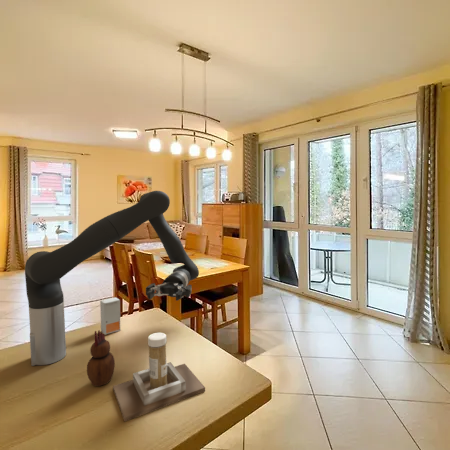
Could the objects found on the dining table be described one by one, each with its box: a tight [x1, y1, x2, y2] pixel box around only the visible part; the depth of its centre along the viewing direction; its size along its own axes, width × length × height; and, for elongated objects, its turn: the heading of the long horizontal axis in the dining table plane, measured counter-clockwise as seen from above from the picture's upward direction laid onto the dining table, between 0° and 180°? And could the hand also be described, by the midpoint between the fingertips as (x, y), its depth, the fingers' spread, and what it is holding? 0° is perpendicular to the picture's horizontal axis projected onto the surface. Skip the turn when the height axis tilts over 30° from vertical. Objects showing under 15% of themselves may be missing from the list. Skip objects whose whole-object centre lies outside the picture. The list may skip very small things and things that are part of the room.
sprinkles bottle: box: [147, 332, 168, 389], centre depth 75 cm, size 5×5×13 cm
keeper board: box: [112, 362, 206, 422], centre depth 75 cm, size 20×13×4 cm, turn 121°
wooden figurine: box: [86, 329, 116, 387], centre depth 78 cm, size 7×6×15 cm
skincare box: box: [99, 296, 121, 336], centre depth 110 cm, size 6×4×12 cm
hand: (163, 296), depth 88 cm, fingers open, 8 cm apart
